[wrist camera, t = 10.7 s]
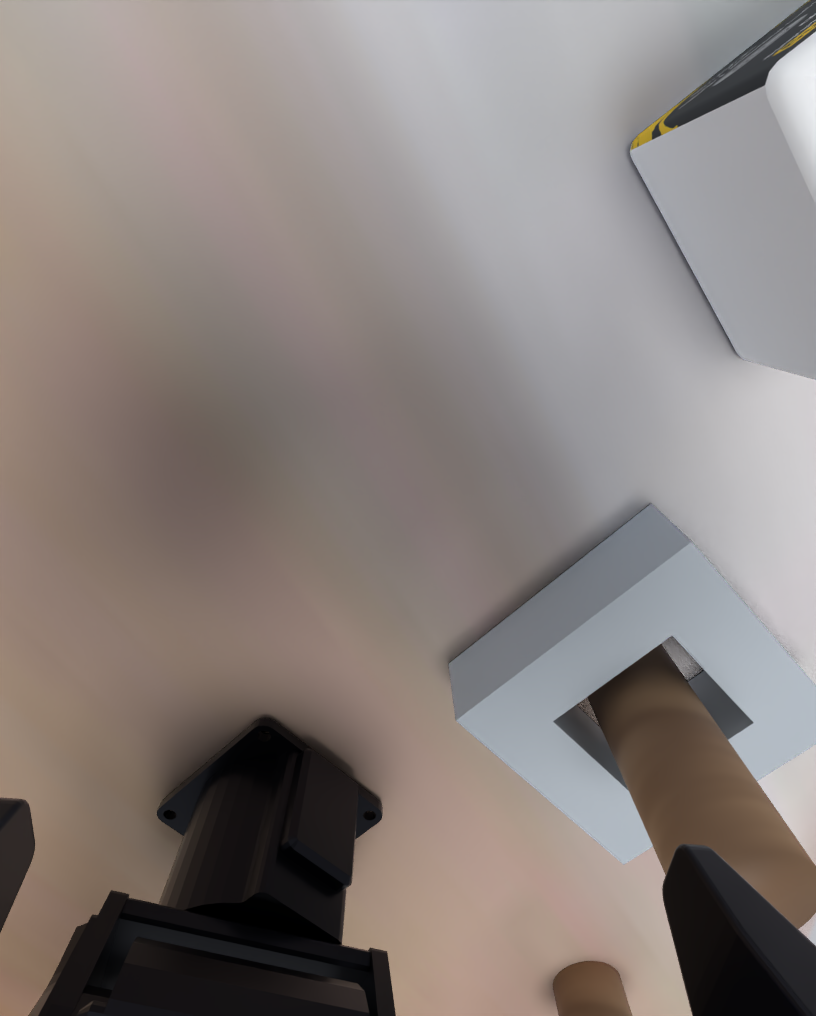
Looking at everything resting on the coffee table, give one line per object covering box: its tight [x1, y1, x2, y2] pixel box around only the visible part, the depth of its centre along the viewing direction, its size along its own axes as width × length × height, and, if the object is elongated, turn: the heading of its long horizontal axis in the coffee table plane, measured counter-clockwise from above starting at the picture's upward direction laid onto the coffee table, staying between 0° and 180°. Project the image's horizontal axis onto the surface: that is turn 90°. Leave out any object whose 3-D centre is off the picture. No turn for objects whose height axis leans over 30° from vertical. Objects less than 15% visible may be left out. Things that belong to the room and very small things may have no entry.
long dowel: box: [587, 644, 816, 929], centre depth 18 cm, size 3×3×9 cm
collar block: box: [448, 503, 816, 865], centre depth 21 cm, size 9×9×3 cm
